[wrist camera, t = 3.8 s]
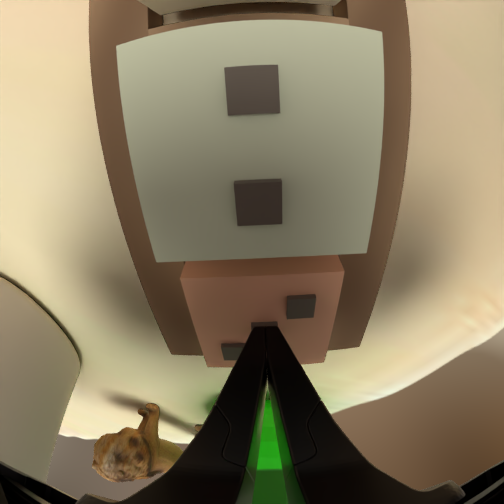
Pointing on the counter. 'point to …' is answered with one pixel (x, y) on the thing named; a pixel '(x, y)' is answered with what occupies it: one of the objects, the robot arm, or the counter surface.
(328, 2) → the tile one pip
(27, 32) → the counter surface
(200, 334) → the tile three pips
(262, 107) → the tile two pips
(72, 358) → the cylinder vase
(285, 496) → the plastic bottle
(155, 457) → the lion figurine
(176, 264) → the walnut board
